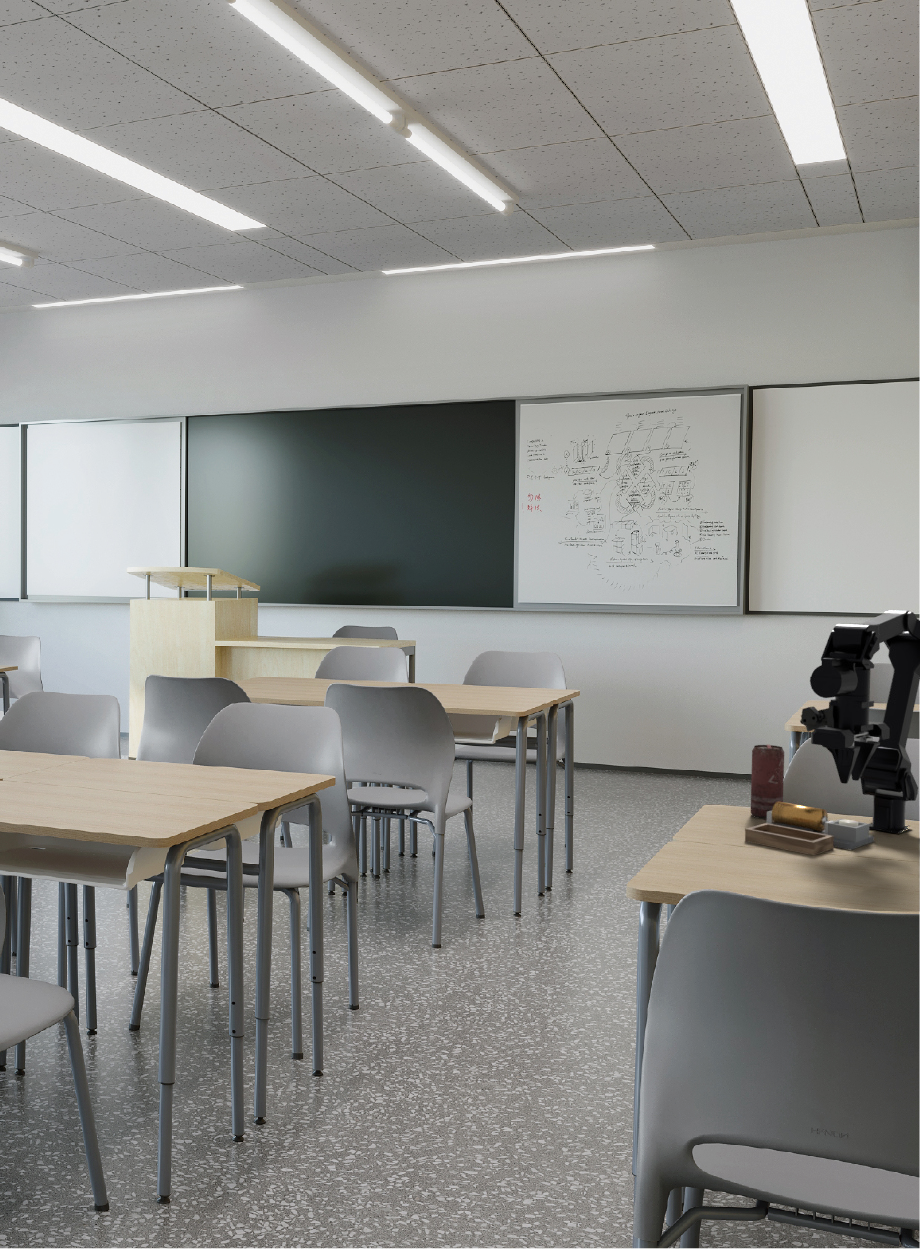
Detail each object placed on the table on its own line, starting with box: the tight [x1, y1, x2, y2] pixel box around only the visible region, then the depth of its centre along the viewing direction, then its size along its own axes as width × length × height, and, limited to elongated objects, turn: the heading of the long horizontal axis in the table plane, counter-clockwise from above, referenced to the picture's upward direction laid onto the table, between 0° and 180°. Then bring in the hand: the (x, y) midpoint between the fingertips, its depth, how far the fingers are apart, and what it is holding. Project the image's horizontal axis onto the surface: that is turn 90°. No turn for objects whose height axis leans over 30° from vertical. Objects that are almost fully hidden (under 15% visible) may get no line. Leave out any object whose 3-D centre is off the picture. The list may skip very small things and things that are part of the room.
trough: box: [744, 822, 834, 856], centre depth 182 cm, size 7×13×2 cm, turn 44°
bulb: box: [838, 819, 859, 827], centre depth 184 cm, size 3×3×2 cm
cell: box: [772, 801, 829, 831], centre depth 191 cm, size 4×10×4 cm, turn 44°
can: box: [750, 744, 785, 820], centre depth 205 cm, size 6×6×14 cm
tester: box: [766, 810, 875, 851], centre depth 189 cm, size 9×18×4 cm, turn 44°
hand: (849, 781), depth 184 cm, fingers open, 4 cm apart
